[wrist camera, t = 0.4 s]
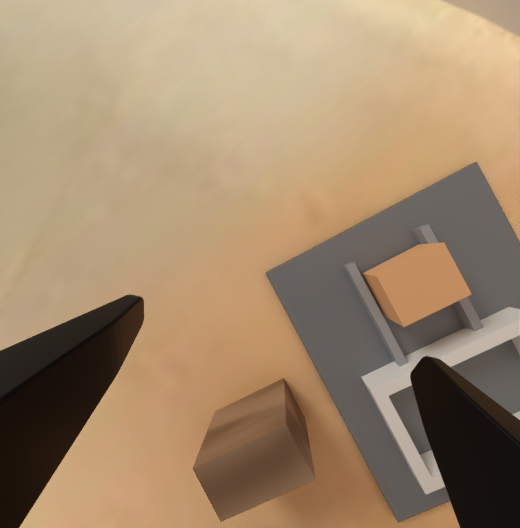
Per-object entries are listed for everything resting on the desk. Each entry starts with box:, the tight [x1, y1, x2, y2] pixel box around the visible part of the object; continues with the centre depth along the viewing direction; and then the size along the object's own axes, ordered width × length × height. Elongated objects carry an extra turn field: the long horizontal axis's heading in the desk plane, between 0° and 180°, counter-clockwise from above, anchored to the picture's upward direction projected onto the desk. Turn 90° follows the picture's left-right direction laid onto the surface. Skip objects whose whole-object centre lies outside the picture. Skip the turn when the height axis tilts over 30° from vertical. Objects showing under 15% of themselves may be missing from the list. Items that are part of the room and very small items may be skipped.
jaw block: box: [193, 378, 315, 522], centre depth 19 cm, size 4×7×6 cm, turn 118°
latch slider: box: [362, 242, 472, 327], centre depth 18 cm, size 4×5×3 cm
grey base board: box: [266, 162, 520, 522], centre depth 19 cm, size 24×19×2 cm
